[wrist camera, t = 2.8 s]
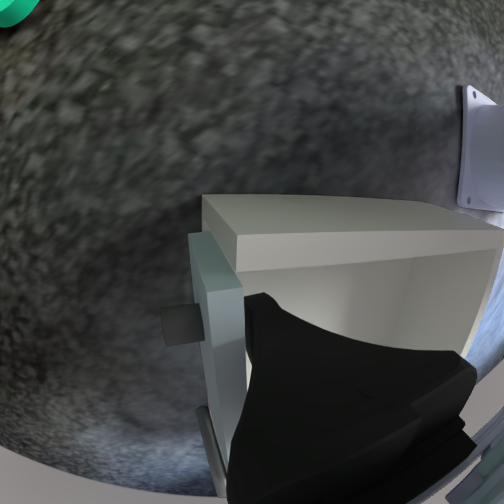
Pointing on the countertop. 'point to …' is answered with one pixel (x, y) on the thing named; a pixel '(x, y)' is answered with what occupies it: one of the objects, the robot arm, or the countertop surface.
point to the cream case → (357, 271)
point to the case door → (214, 332)
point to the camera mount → (15, 11)
